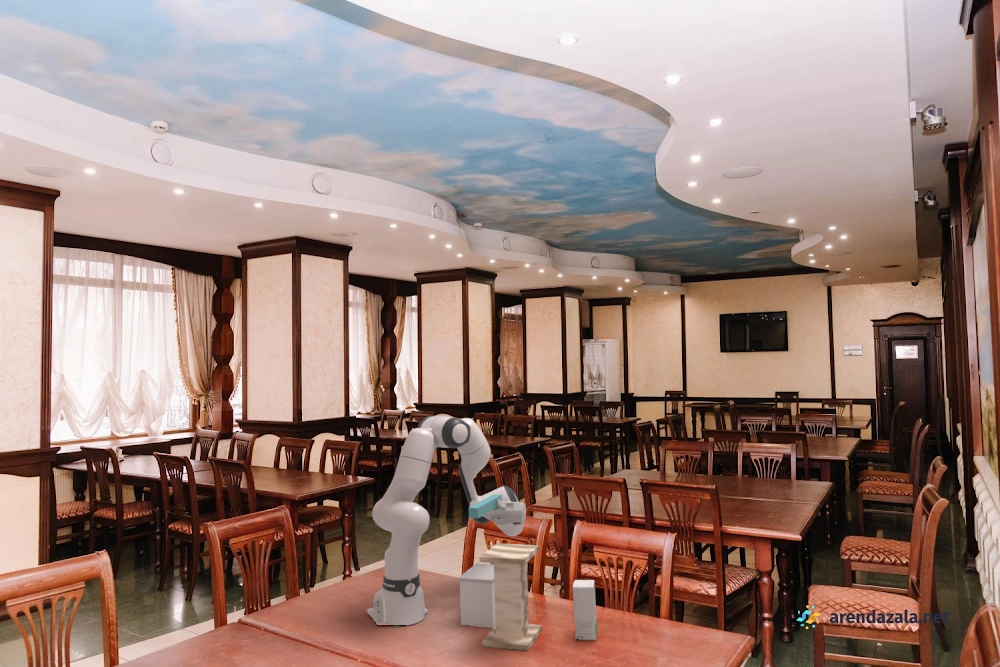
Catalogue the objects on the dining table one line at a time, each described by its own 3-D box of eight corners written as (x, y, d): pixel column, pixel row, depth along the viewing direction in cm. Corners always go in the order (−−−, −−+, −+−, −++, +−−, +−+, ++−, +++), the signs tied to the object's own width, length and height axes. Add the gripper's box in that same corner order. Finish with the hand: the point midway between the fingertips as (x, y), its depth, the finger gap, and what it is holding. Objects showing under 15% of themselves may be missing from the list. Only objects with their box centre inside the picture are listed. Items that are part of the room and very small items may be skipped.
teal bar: (493, 503, 237) (493, 494, 237) (501, 503, 236) (501, 494, 236) (468, 517, 214) (468, 507, 214) (478, 518, 213) (477, 508, 213)
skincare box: (595, 641, 197) (593, 587, 198) (573, 640, 198) (571, 587, 199) (597, 630, 205) (595, 579, 206) (576, 629, 206) (574, 578, 207)
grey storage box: (477, 607, 229) (476, 563, 230) (510, 610, 225) (508, 565, 226) (459, 625, 213) (458, 577, 214) (493, 628, 209) (492, 580, 210)
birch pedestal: (499, 626, 211) (496, 543, 213) (542, 630, 207) (538, 545, 208) (482, 646, 196) (479, 556, 198) (527, 650, 192) (524, 559, 193)
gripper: (477, 505, 246) (464, 491, 235) (530, 506, 239) (519, 493, 229) (474, 521, 243) (462, 509, 232) (528, 524, 236) (517, 511, 225)
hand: (491, 501), depth 230 cm, fingers closed on teal bar, 3 cm apart
